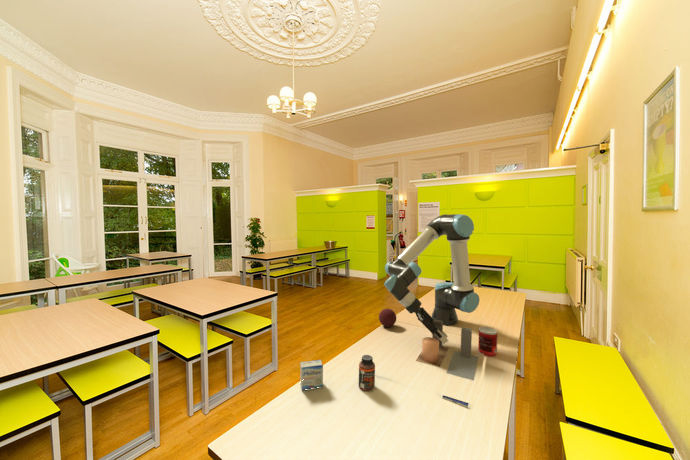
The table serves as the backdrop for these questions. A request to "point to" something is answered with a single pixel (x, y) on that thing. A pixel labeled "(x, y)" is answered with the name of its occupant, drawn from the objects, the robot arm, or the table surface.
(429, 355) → the peach capsule shape
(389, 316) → the decorative ball
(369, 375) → the supplement bottle
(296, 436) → the table surface
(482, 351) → the canned food
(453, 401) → the hard drive
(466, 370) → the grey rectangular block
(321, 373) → the medicine box
